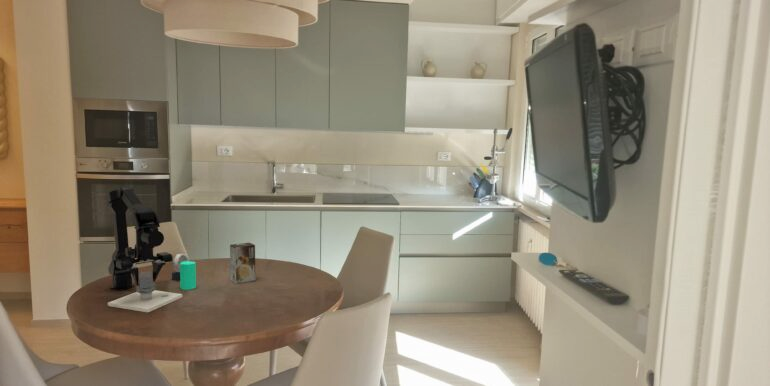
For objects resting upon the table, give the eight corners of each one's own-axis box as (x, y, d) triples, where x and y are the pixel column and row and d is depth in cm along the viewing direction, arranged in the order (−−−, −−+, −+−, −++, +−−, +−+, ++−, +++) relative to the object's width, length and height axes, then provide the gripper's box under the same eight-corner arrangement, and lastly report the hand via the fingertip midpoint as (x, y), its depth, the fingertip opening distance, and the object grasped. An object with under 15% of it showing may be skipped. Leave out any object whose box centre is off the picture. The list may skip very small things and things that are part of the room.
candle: (190, 290, 204) (190, 261, 203) (177, 288, 206) (176, 260, 204) (198, 286, 210) (198, 258, 209) (185, 284, 211) (185, 256, 210)
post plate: (107, 305, 184) (107, 295, 183) (144, 291, 201) (144, 281, 200) (148, 312, 179) (147, 301, 178) (182, 297, 196) (182, 287, 195)
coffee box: (249, 277, 225) (249, 242, 223) (255, 280, 220) (255, 244, 218) (229, 280, 219) (229, 244, 217) (235, 284, 214) (235, 247, 213)
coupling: (155, 292, 187) (155, 276, 186) (136, 294, 184) (136, 278, 184) (154, 286, 195) (154, 270, 194) (136, 287, 192) (136, 272, 191)
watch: (191, 276, 223) (190, 252, 222) (182, 281, 215) (181, 256, 214) (179, 275, 224) (178, 251, 223) (169, 280, 216) (169, 255, 215)
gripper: (160, 235, 199) (161, 273, 201) (109, 242, 186) (111, 283, 187) (173, 240, 192) (173, 279, 194) (121, 247, 178) (122, 289, 180)
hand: (145, 282), depth 189 cm, fingers open, 6 cm apart
